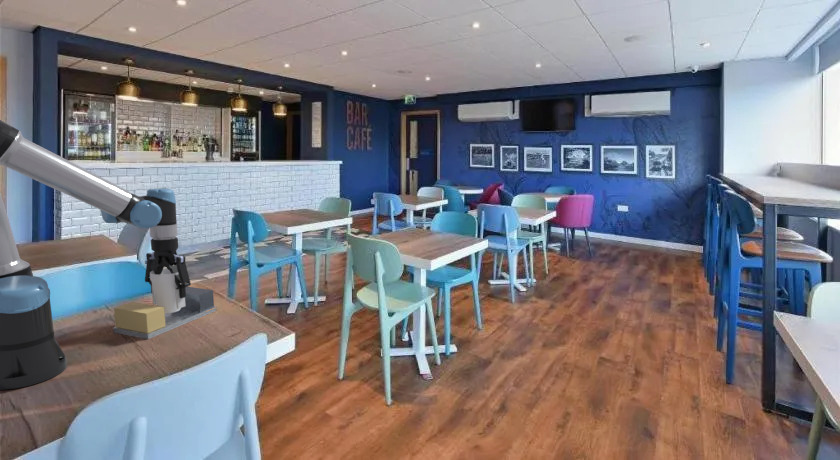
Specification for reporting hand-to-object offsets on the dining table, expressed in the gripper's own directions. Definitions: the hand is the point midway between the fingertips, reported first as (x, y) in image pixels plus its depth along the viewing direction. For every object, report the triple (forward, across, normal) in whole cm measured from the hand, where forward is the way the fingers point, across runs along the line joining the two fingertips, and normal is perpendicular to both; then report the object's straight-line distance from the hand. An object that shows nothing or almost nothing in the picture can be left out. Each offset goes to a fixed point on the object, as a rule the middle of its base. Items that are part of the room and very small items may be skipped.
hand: (169, 305), depth 144 cm
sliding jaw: (+3, 0, +10) cm, 11 cm away
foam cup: (+2, 0, 0) cm, 2 cm away
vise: (+5, 0, +1) cm, 5 cm away
